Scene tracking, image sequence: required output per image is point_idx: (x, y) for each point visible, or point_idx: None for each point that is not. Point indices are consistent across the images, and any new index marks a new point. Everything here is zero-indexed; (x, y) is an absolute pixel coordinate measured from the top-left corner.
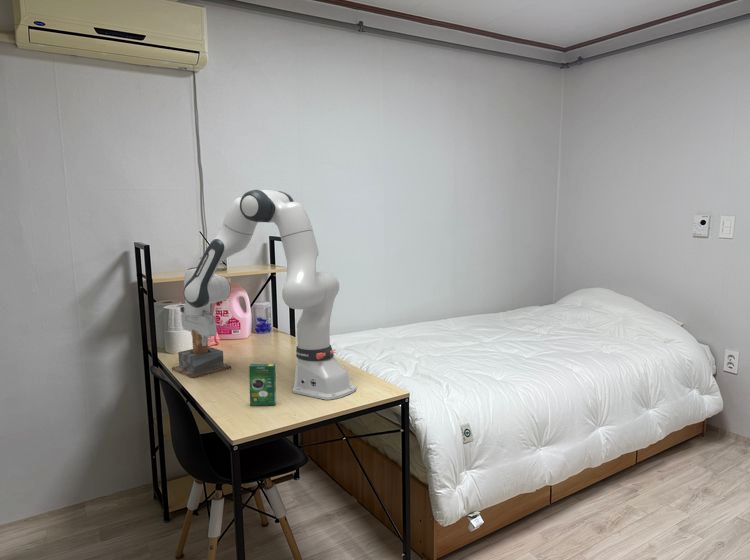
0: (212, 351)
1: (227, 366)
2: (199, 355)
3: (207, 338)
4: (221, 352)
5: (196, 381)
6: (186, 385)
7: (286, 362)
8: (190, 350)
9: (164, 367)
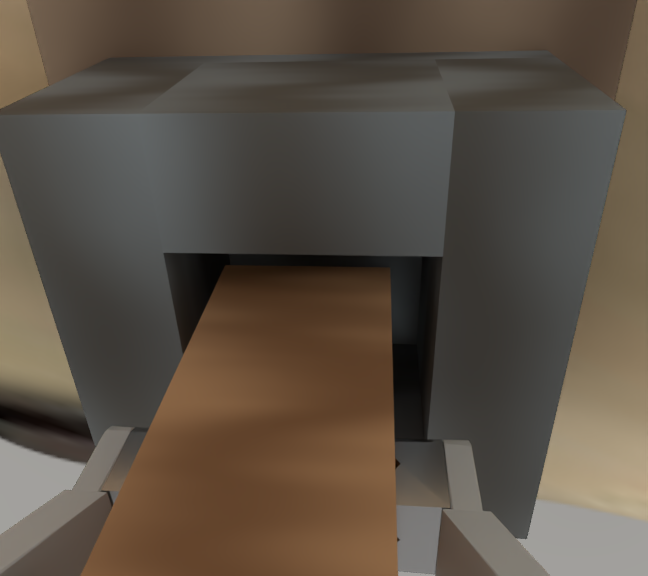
0: (465, 255)
1: (614, 21)
2: (493, 464)
3: (547, 574)
4: (612, 139)
5: (631, 433)
6: (638, 509)
7: None
8: (137, 412)
9: (23, 404)
